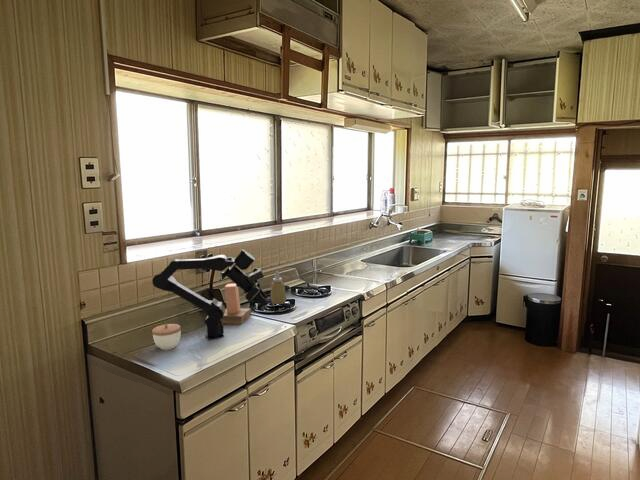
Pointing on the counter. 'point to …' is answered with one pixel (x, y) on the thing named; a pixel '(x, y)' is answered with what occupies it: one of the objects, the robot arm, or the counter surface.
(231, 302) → the tall terracotta block
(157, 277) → the robot arm
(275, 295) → the squeeze bottle
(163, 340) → the lidded jar
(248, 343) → the counter surface
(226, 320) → the walnut base block
